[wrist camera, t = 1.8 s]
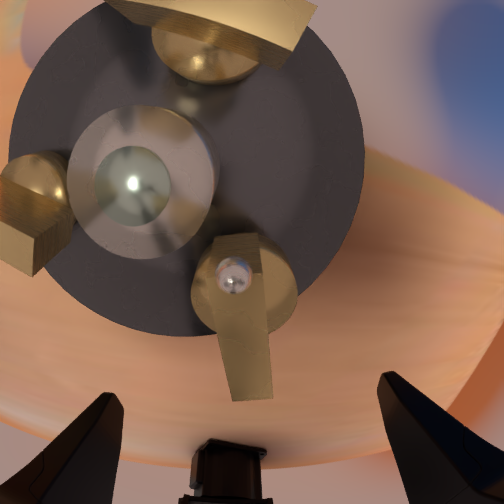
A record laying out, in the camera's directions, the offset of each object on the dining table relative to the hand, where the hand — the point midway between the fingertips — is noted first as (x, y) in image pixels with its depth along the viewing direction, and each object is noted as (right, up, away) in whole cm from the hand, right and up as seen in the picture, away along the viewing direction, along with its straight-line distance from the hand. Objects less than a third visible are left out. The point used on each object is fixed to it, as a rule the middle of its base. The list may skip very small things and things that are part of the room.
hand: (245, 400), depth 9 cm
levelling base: (-4, +9, +6) cm, 12 cm away
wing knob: (0, +3, +7) cm, 8 cm away
